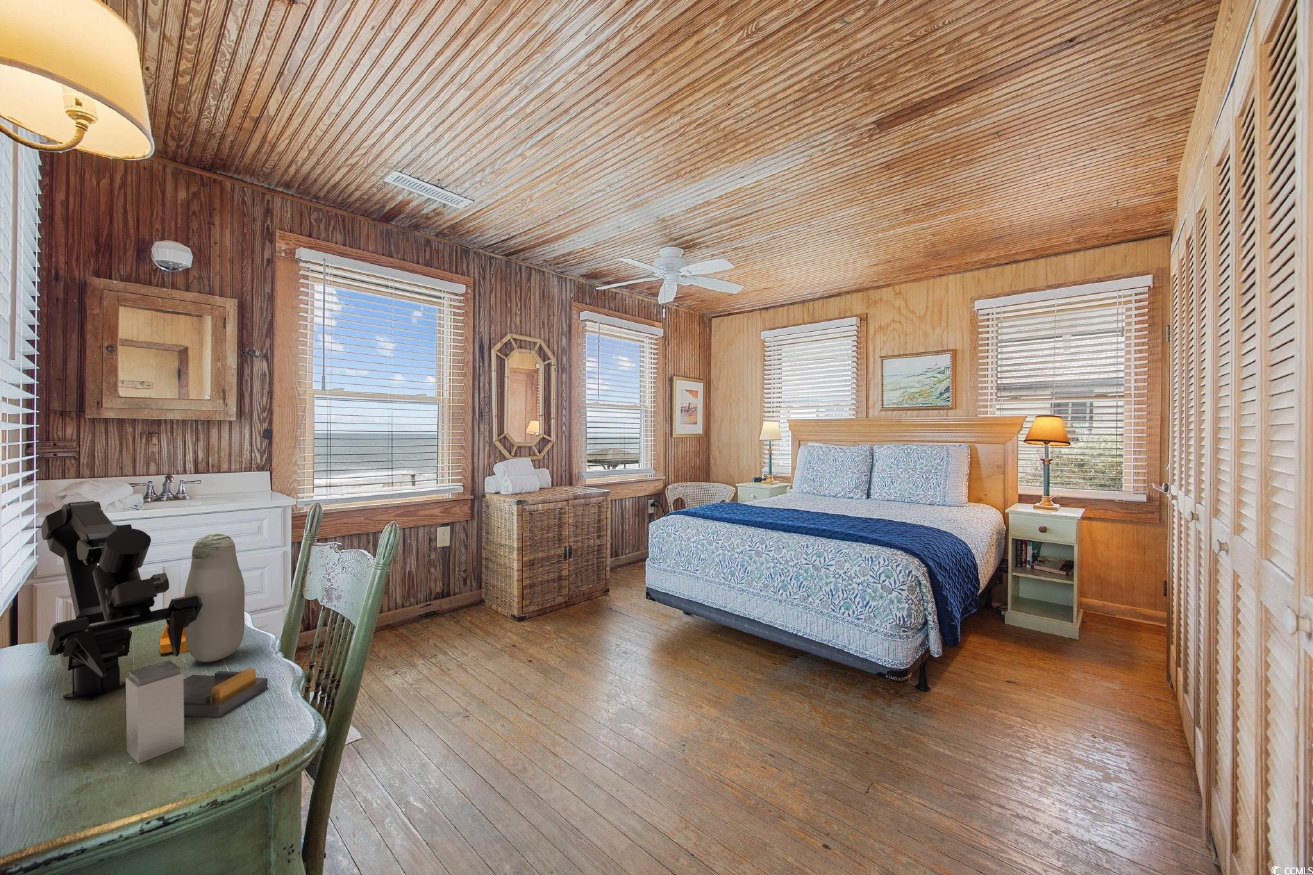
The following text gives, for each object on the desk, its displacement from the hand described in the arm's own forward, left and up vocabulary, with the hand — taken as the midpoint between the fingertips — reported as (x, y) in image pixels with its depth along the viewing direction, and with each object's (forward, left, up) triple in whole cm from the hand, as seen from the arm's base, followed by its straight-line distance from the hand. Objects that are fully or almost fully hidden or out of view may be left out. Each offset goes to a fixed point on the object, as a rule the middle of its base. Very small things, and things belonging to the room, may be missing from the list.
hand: (142, 664), depth 91 cm
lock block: (+5, -3, -12) cm, 14 cm away
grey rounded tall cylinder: (-15, +29, -12) cm, 35 cm away
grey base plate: (-1, +12, -12) cm, 17 cm away
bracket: (-27, +35, -12) cm, 46 cm away
